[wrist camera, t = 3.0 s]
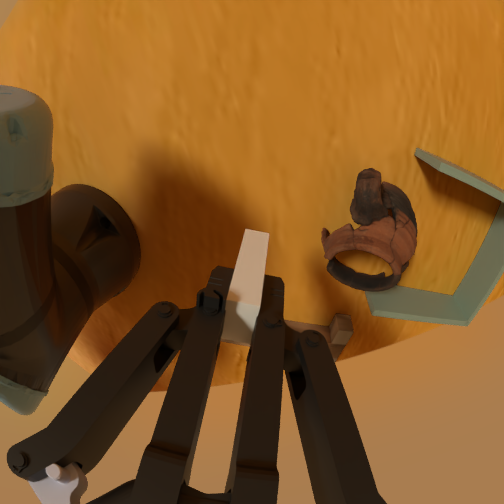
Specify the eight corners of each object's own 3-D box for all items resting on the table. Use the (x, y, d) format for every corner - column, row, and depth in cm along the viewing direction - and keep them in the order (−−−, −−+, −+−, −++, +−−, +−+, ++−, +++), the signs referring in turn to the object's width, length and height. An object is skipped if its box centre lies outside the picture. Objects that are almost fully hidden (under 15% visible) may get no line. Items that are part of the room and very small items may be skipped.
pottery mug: (419, 236, 28) (412, 301, 24) (343, 233, 33) (324, 291, 29) (412, 142, 20) (411, 208, 16) (313, 148, 25) (284, 208, 21)
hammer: (219, 334, 38) (215, 351, 36) (224, 293, 34) (219, 310, 31) (329, 352, 38) (330, 368, 36) (350, 314, 34) (353, 332, 32)
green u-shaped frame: (362, 285, 31) (371, 315, 27) (416, 147, 22) (441, 161, 18) (453, 300, 31) (467, 326, 27) (508, 193, 22) (533, 212, 18)
